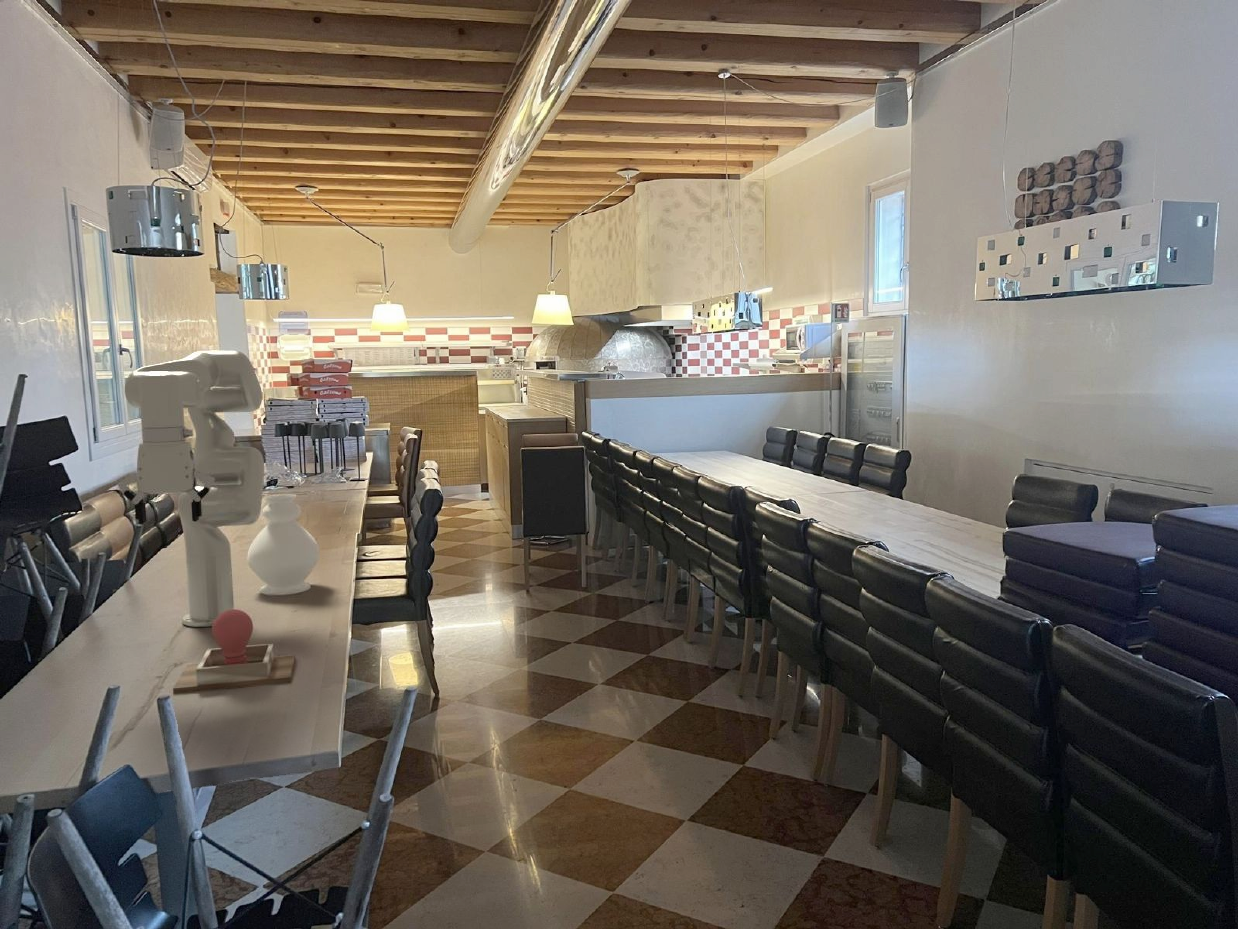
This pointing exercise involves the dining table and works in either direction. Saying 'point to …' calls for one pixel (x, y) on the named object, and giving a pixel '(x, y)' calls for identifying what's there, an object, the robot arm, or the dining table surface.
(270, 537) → the decorative vase
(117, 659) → the dining table surface
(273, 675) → the bulb holder
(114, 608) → the dining table surface
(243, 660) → the light bulb
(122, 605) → the dining table surface
